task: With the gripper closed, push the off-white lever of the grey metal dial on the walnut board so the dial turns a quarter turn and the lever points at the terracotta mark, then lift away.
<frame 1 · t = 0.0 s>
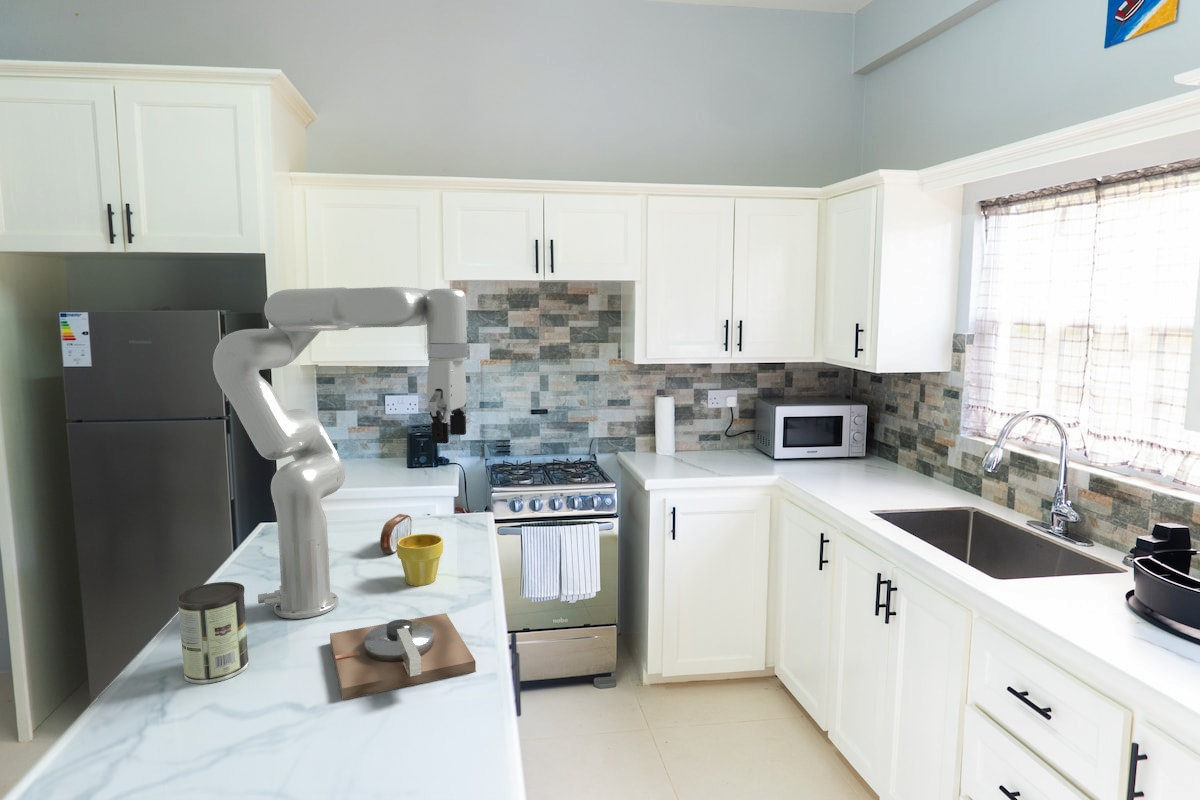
hand: (449, 438, 144), 37 cm above the counter, tool pointing down, fingers open, 9 cm apart
coffee can: (216, 670, 127), on the counter
tin: (397, 549, 191), on the counter
dial: (403, 644, 127), point 4 cm above the counter, hinge at 0.0°
plant pot: (421, 581, 169), on the counter
dial board: (400, 657, 131), on the counter
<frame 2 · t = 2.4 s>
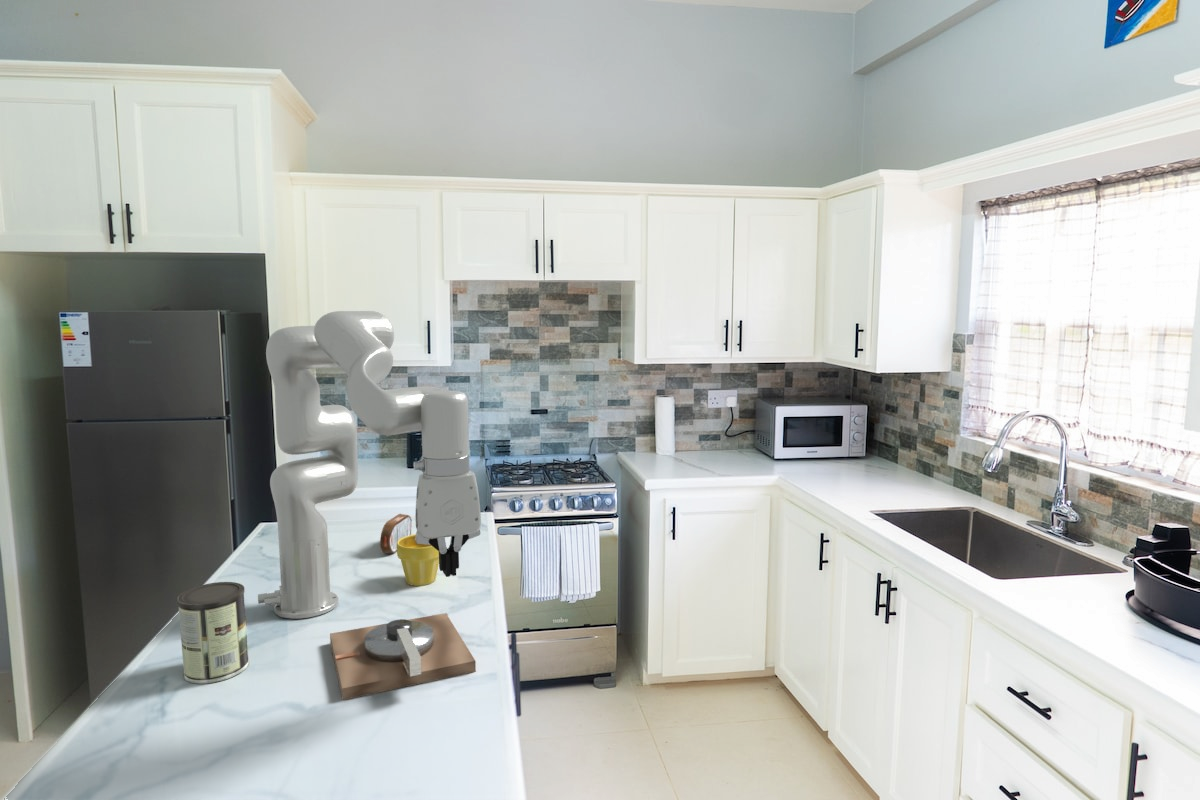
hand: (449, 573, 121), 19 cm above the counter, tool pointing down, fingers closed
nothing on the counter moved.
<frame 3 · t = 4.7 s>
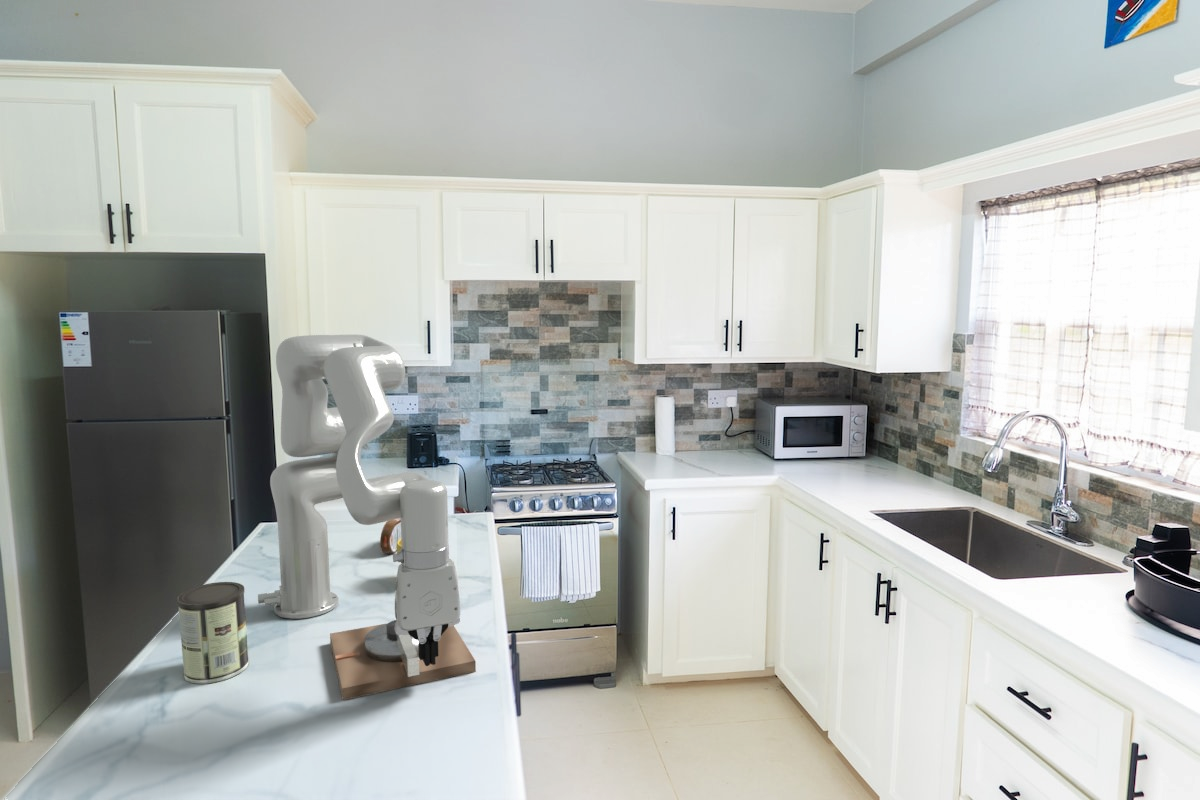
hand: (428, 661, 121), 4 cm above the counter, tool pointing down, fingers closed
dial: (403, 644, 127), point 4 cm above the counter, hinge at -1.3°, touching gripper
everything else where it was.
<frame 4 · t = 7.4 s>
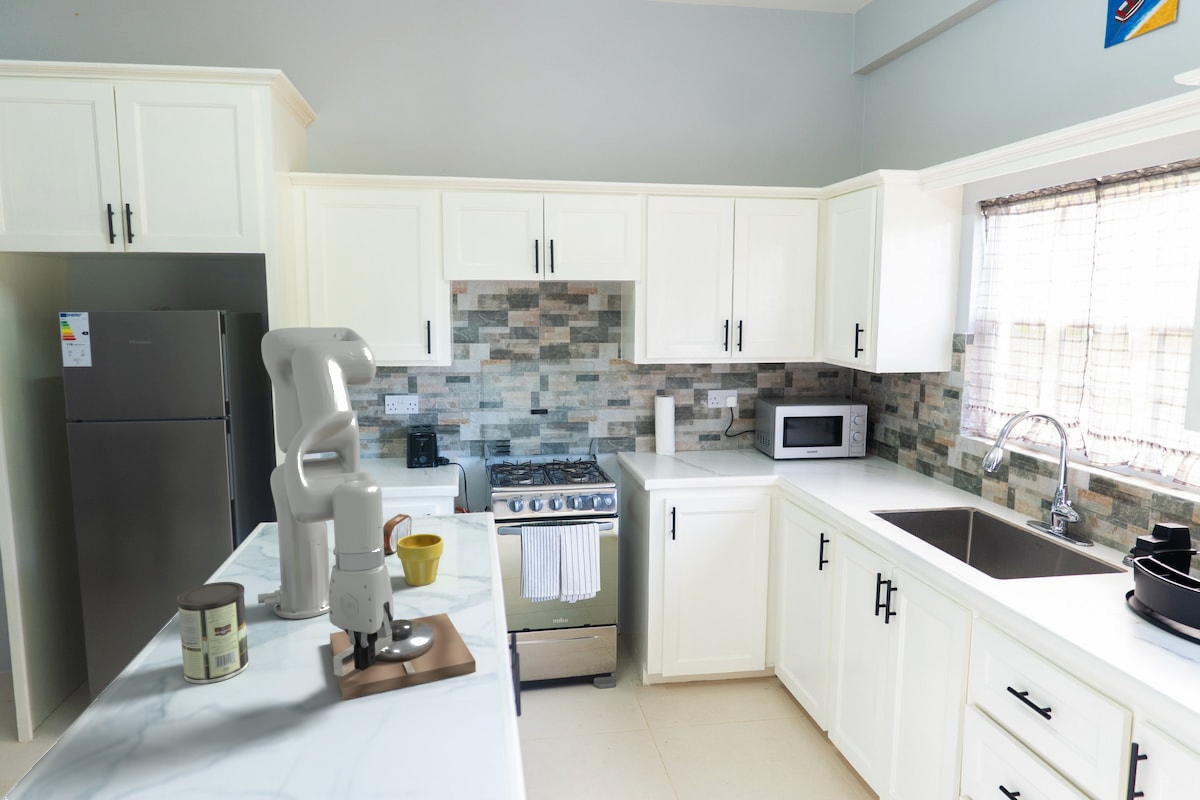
hand: (365, 666, 119), 4 cm above the counter, tool pointing down, fingers closed
dial: (382, 644, 127), point 4 cm above the counter, hinge at -49.5°, touching gripper
everything else where it was.
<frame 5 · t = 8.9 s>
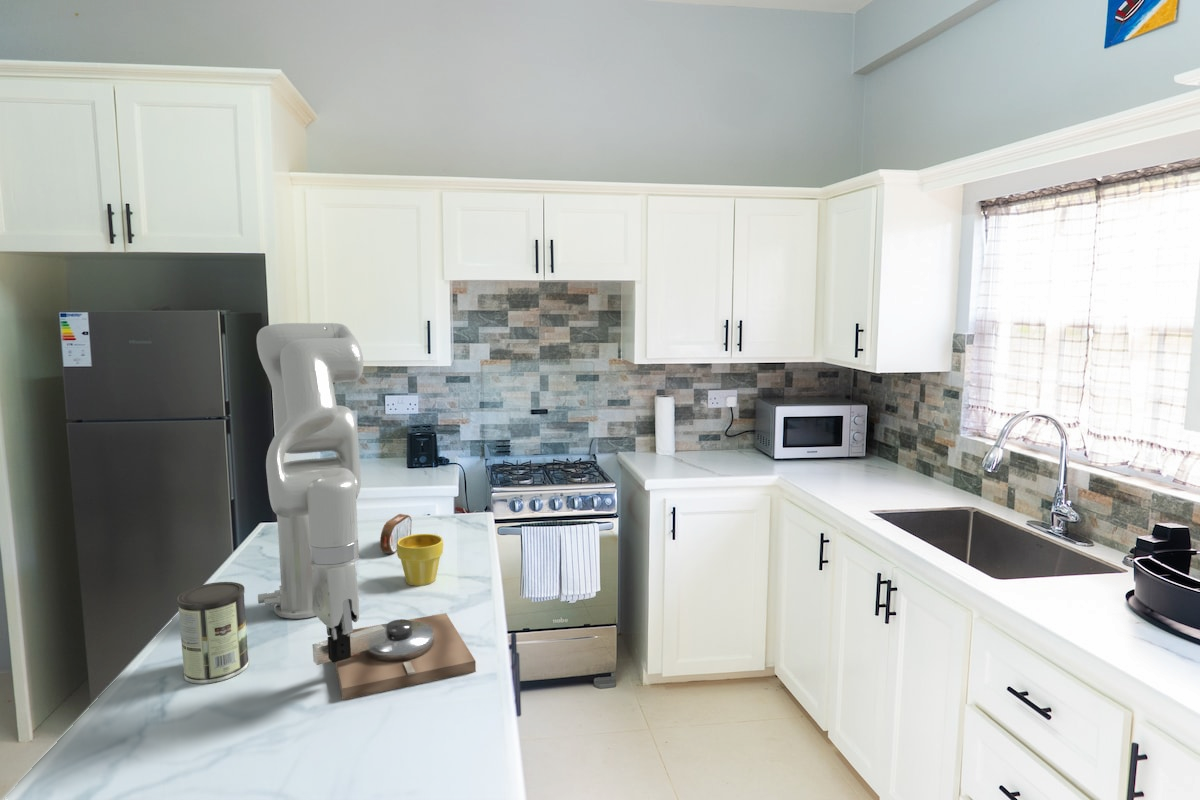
hand: (339, 658, 121), 5 cm above the counter, tool pointing down, fingers closed
dial: (375, 640, 128), point 4 cm above the counter, hinge at -75.4°, touching gripper
everything else where it was.
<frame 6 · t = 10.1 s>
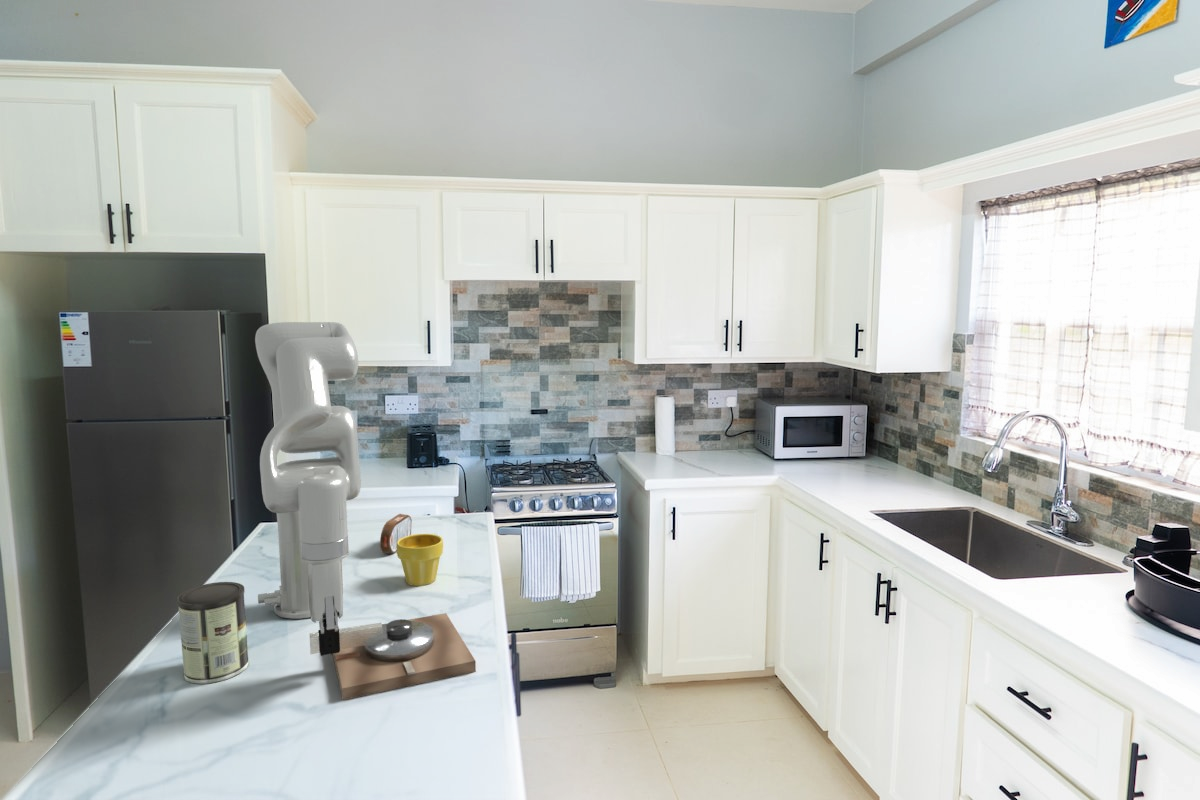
hand: (329, 652, 124), 4 cm above the counter, tool pointing down, fingers closed
dial: (373, 637, 129), point 4 cm above the counter, hinge at -93.2°, touching gripper
everything else where it was.
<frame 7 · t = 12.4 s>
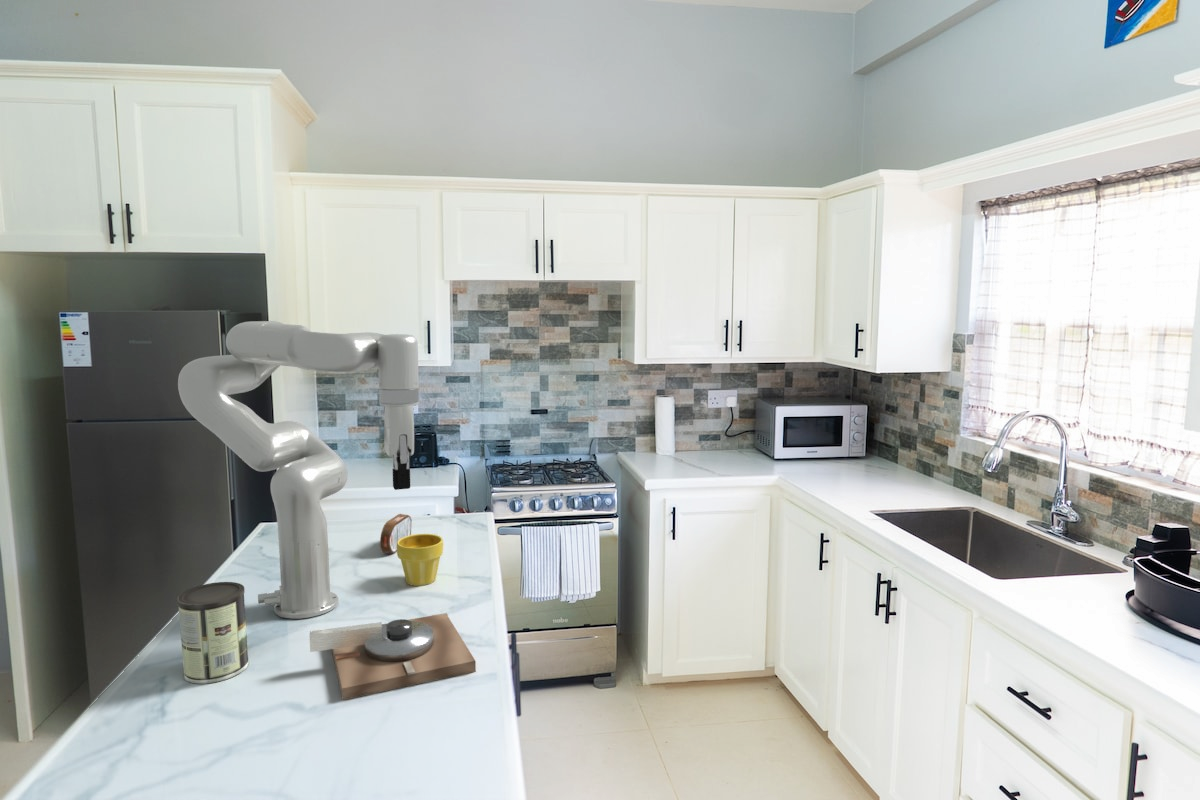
hand: (401, 488, 145), 27 cm above the counter, tool pointing down, fingers closed
dial: (373, 637, 130), point 4 cm above the counter, hinge at -96.8°
everything else where it was.
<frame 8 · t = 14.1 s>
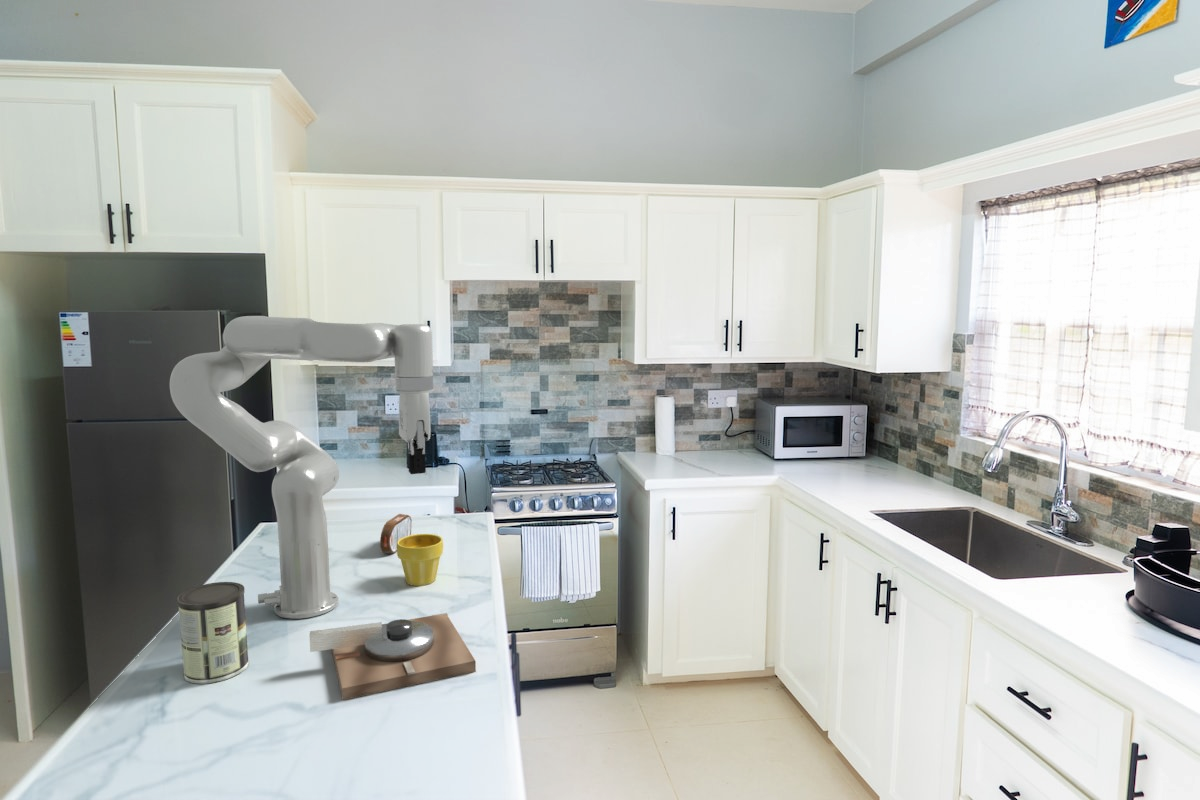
hand: (417, 472, 150), 29 cm above the counter, tool pointing down, fingers closed
nothing on the counter moved.
at the end: dial at -97° (first picture: +0°); coffee can moved 0.2 cm from its start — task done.
